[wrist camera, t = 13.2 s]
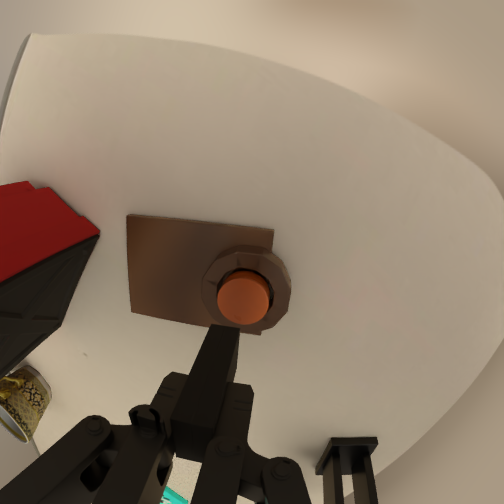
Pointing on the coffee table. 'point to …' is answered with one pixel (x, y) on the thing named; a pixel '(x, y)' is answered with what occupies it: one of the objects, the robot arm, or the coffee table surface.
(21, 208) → the jerry can
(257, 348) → the coffee table surface
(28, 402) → the ceramic cup
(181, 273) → the button block
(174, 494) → the handheld game console
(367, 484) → the bracket
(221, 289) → the button
